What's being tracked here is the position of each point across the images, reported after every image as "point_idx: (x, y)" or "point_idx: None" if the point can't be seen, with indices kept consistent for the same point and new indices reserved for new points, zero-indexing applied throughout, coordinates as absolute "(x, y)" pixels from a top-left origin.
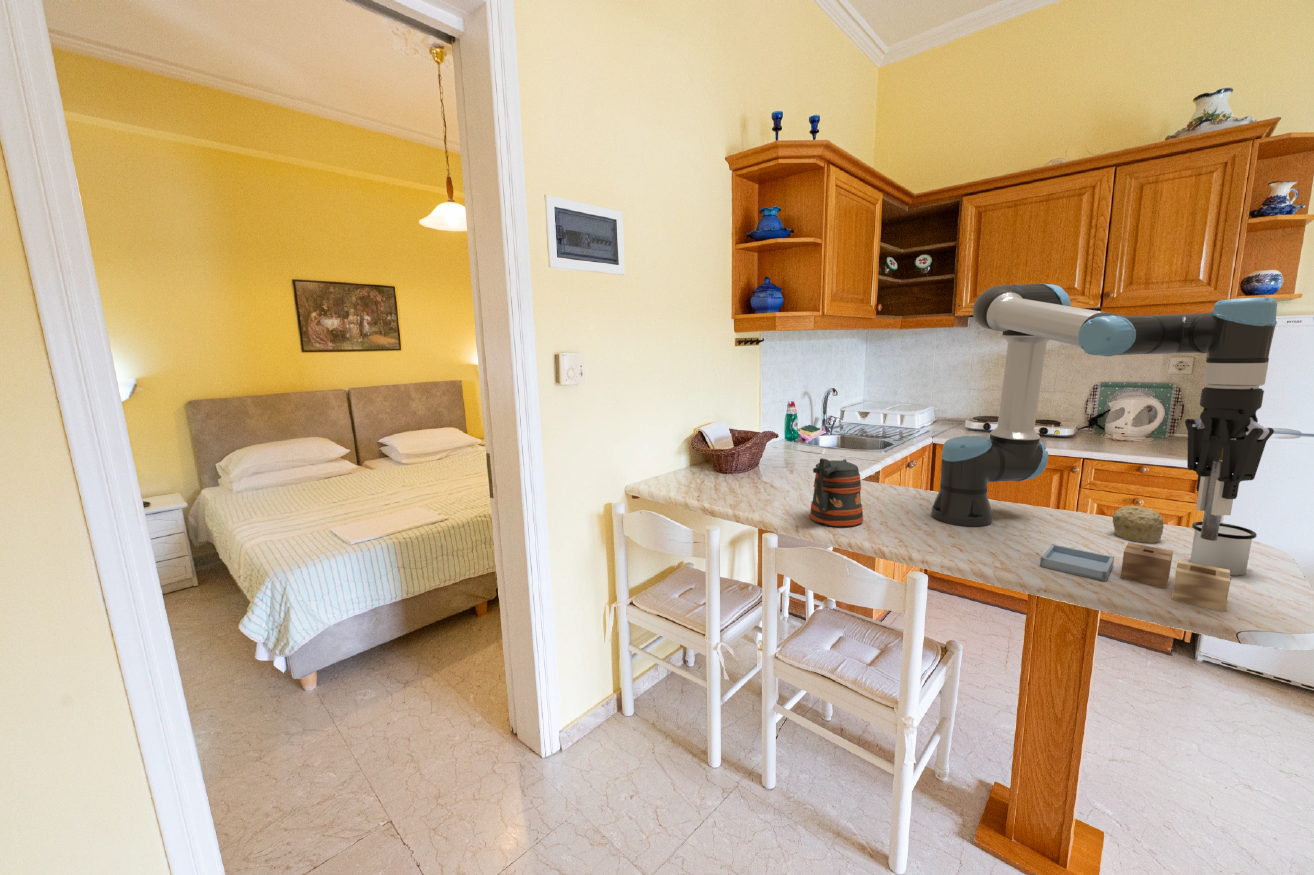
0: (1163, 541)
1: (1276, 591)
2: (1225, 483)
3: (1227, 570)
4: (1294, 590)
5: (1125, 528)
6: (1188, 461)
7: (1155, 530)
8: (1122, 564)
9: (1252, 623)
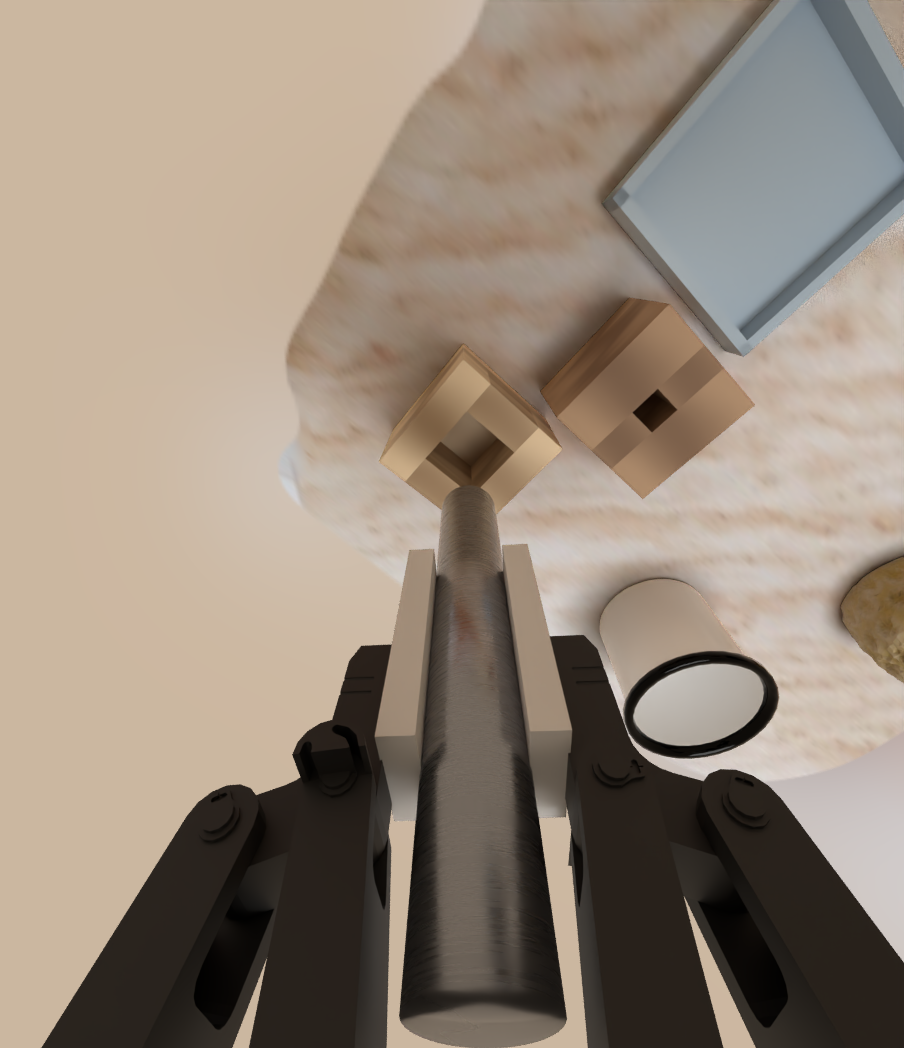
0: (841, 636)
1: None
2: (372, 742)
3: None
4: None
5: None
6: (823, 875)
7: (871, 631)
8: (646, 300)
9: (334, 441)
